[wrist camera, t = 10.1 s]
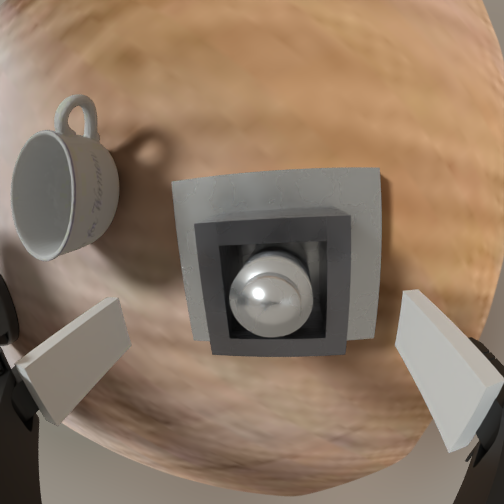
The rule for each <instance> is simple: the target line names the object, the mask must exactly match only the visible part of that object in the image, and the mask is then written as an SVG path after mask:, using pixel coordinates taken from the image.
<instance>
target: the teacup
mask: <svg viewBox="0 0 504 504" xmlns="http://www.w3.org/2000/svg"><path fill="white" fill-rule="evenodd" d="M76 106H81V108H82V110H83V113H84V119H85V130H84V135H83V136H81V135H76V132H75V131H74V130H72V129H71V128H70V127H69V125H68V117H69V114H70V112H71V111H72V109H73V108H74V107H76ZM54 123H55V132H54V131H51V130H44V131H40V132H37V133H35V134H34V135H33V136H31V137H30V138H29V140H28V141H27V142H26V143H25V145H24V147H23V148H22V149H21V152H20V154H19V156H18V158H17V161H16V164H15V167H14V171H13V176H12V183H11V209H12V215H13V220H14V225H15V228H16V231H17V233H18V236H19V238H20V240H21V242H22V244H23V245H24V247H25V248H26V250H27V251H28V253H29V254H31V255H32V256H33V257H35V258H36V259H38V260H41V261H50V260H53V259H55V258H56V257H58V256H60V255H63V254H66V253H69V252H72V251H74V250H77V249H80V248H82V247H84V246H87V245H89V244H91V243H93V242H94V241H96V240H97V239H98V238H100V237H101V236H102V235H103V234H104V233H105V231H106V230H107V229H108V227H109V226H110V224H111V222H112V220H113V218H114V215H115V213H116V209H117V205H118V200H119V177H118V172H117V168H116V165H115V162H114V160H113V158H112V156H111V154H110V153H109V151H108V150H107V149H106V148H105V147H104V146H103V145H102V144H100V142H99V141H100V135H99V134H98V132H97V112H96V107H95V105H94V102H93V101H92V100H91V99H90V98H89V97H88V96H85V95H80V94H77V95H72V96H70V97H67V98H66V99H64V100H63V101H62V102H61V104H60V105H59V107H58V109H57V111H56V114H55V119H54Z"/></svg>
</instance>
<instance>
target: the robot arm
mask: <svg viewBox="0 0 504 504" xmlns="http://www.w3.org/2000/svg"><path fill="white" fill-rule="evenodd" d="M18 335H19V327H18V321H17V316H16V312H15V309H14V306H13V303H12V300H11V297H10V295H9V292H8V290H7V288H6V286H5V283H4V282H3V280H2V278H1V276H0V346H5V345H9V344H11V343H12V342H14V341H15V340H17V338H18ZM131 346H132V345H131V342H130V338H129V335H128V331H127V328H126V324H125V321H124V317H123V313H122V309H121V305H120V301H119V298H114V297H107V298H105V299H104V300H102V301H101V302H99V303H98V304H96V305H95V306H93V307H92V308H91V309H89V310H88V311H86V312H85V313H83V314H82V315H80V316H79V317H78V318H76V319H75V320H73V321H72V322H70V323H69V324H68V325H66V326H65V327H63V328H62V329H61V330H59V331H58V332H56V333H55V334H54V335H52V336H51V337H49V338H48V339H47V340H45V341H44V342H43V343H41V344H40V345H38V346H37V347H36V348H34V349H33V350H32V351H30V352H29V353H28V354H26V355H25V356H24V357H22V358H21V359H20V360H18V361H17V362H16V363H15V367H13V368H12V369H11V368H10V366H9V364H8V362H7V359H6V357H5V355H4V353H3V350H2V348H1V347H0V504H42V502H41V493H40V482H39V464H38V438H39V417H38V416H37V414H36V412H37V411H38V410H40V411H41V413H42V415H43V416H44V417H45V419H46V420H47V421H48V422H50V423H52V424H54V425H56V426H59V425H60V424H61V423H62V421H63V420H64V419H65V418H66V417H67V416H68V415H69V413H70V412H71V411H72V410H73V409H74V408H75V407H76V406H77V405H78V403H79V402H80V401H81V400H82V399H83V398H84V397H85V396H86V395H87V393H88V392H89V391H90V390H91V389H92V388H93V387H94V386H95V385H96V383H97V382H98V381H99V380H100V379H101V378H102V377H103V376H104V375H105V374H106V373H107V371H108V370H109V369H110V368H111V367H112V366H113V365H114V364H115V363H116V362H117V361H118V360H119V359H120V357H121V356H122V355H123V354H124V353H125V352H126V351H127V350H128V349H129V348H130V347H131ZM395 346H396V348H397V350H398V352H399V353H400V355H401V357H402V359H403V360H404V362H405V364H406V366H407V368H408V370H409V371H410V373H411V375H412V377H413V379H414V381H415V383H416V385H417V387H418V389H419V391H420V392H421V394H422V396H423V398H424V400H425V402H426V404H427V406H428V409H429V411H430V413H431V415H432V417H433V419H434V421H435V423H436V425H437V428H438V430H439V432H440V434H441V436H442V439H443V441H444V443H445V445H446V448H447V450H448V453H451V452H453V451H456V450H458V449H461V448H463V447H465V446H468V444H469V443H470V441H471V440H472V438H473V437H474V435H475V434H477V436H478V438H479V442H478V443H477V445H476V446H475V447H474V449H473V450H472V452H471V453H470V454H469V456H468V457H467V459H466V462H468V461H469V459H470V458H471V456H472V459H471V461H470V464H469V467H468V470H467V473H466V475H465V478H464V480H463V483H462V485H461V487H460V489H459V492H458V494H457V496H456V499H455V500H454V503H453V504H504V366H503V365H502V364H501V363H500V362H499V361H498V360H497V359H495V356H494V355H493V354H492V353H489V350H488V349H487V348H486V347H485V346H484V345H483V344H482V343H481V342H479V341H477V340H475V339H474V338H472V337H470V338H467V337H466V336H465V334H464V333H463V332H462V331H461V330H460V329H459V328H458V327H457V326H456V325H455V324H454V323H453V322H452V321H451V320H450V319H449V318H448V317H447V316H446V315H445V314H444V313H443V312H442V311H440V310H439V309H438V308H437V307H436V306H435V305H434V304H433V303H432V302H431V301H430V300H429V299H428V298H427V297H426V296H425V295H424V294H422V293H421V292H420V291H419V290H418V289H417V290H407V291H403V296H402V304H401V311H400V318H399V325H398V331H397V337H396V342H395Z"/></svg>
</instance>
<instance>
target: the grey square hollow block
mask: <svg viewBox="0 0 504 504" xmlns="http://www.w3.org/2000/svg"><path fill="white" fill-rule="evenodd" d="M194 230H195V239H196V248H197V256H198V264H199V271H200V279H201V286H202V293H203V300H204V307H205V313H206V320H207V326H208V332H209V338H210V344H211V350H212V355H229V356H257V357H299V356H327V355H344V354H345V353H346V343H347V332H348V319H349V303H350V282H351V215H349V214H347V213H345V212H343V211H342V210H340V209H338V208H336V207H315V208H291V209H272V210H255V211H240V212H226V213H220V214H217V215H215V216H212V217H210V218H207V219H204V220H202V221H199V222H197V223H194ZM317 241H319V299H313V306H312V310H311V313H310V315H309V317H308V319H307V320H306V322H305V323H304V324H303V325H302V326H301V327H300V328H299V329H297V330H296V331H294V332H293V333H290V334H288V335H285V336H281V337H262V336H259V335H256V334H254V333H252V332H250V331H249V330H247V329H246V328H244V327H243V326H242V325H241V324H240V323H239V322H238V321H237V319H236V318H235V316H234V314H233V312H232V310H231V307H230V302H229V294H230V289H231V285H232V283H233V281H234V279H235V278H236V276H237V275H238V273H239V272H240V270H241V268H242V267H243V255H242V245H245V244H268V243H292V242H317Z"/></svg>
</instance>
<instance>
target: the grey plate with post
mask: <svg viewBox="0 0 504 504" xmlns="http://www.w3.org/2000/svg"><path fill="white" fill-rule="evenodd" d="M172 193H173V204H174V213H175V222H176V231H177V239H178V247H179V254H180V261H181V268H182V275H183V282H184V288H185V294H186V300H187V306H188V312H189V317H190V323H191V328H192V333H193V338H194V340H197V341H210V338H209V332H208V326H207V320H206V313H205V307H204V300H203V293H202V286H201V279H200V271H199V264H198V256H197V248H196V239H195V230H194V223H197V222H199V221H202V220H204V219H207V218H210V217H212V216H215V215H217V214H220V213H226V212H240V211H255V210H272V209H291V208H315V207H336V208H338V209H340V210H342V211H343V212H345V213H347V214H349V215H351V282H350V303H349V319H348V332H347V340H359V339H370V338H374V334H375V326H376V318H377V308H378V298H379V285H380V269H381V242H382V210H381V183H380V168H313V169H292V170H275V171H262V172H250V173H239V174H229V175H219V176H211V177H202V178H195V179H187V180H180V181H173V182H172ZM242 255H243V267H242V268H241V270H240V272H239V273H238V275H237V276H236V278H235V279H234V281H233V283H232V285H231V289H230V294H229V302H230V307H231V310H232V312H233V314H234V316H235V318H236V319H237V321H238V322H239V323H240V324H241V325H242V326H243V327H244V328H246V329H247V330H249V331H250V332H252V333H254V334H256V335H259V336H262V337H281V336H285V335H288V334H290V333H293V332H294V331H296V330H297V329H299V328H300V327H301V326H302V325H303V324H304V323H305V322H306V320H307V319H308V317H309V315H310V313H311V310H312V306H313V299H319V241H317V242H292V243H268V244H245V245H242Z"/></svg>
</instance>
